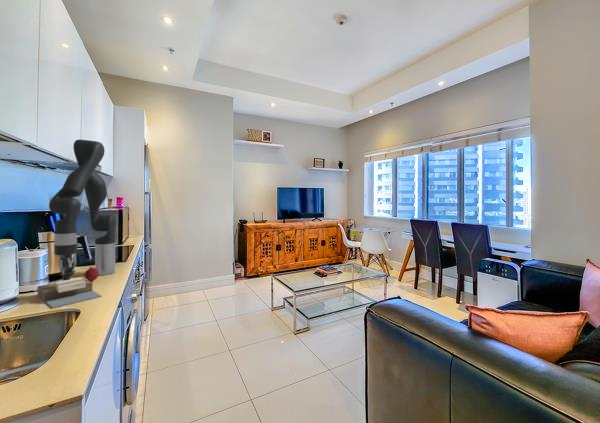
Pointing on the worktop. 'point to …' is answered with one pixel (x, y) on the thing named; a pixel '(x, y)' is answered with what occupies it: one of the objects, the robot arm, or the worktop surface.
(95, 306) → the worktop surface
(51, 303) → the mat
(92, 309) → the worktop surface
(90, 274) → the onion
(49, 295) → the deck
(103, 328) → the worktop surface
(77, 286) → the tile
